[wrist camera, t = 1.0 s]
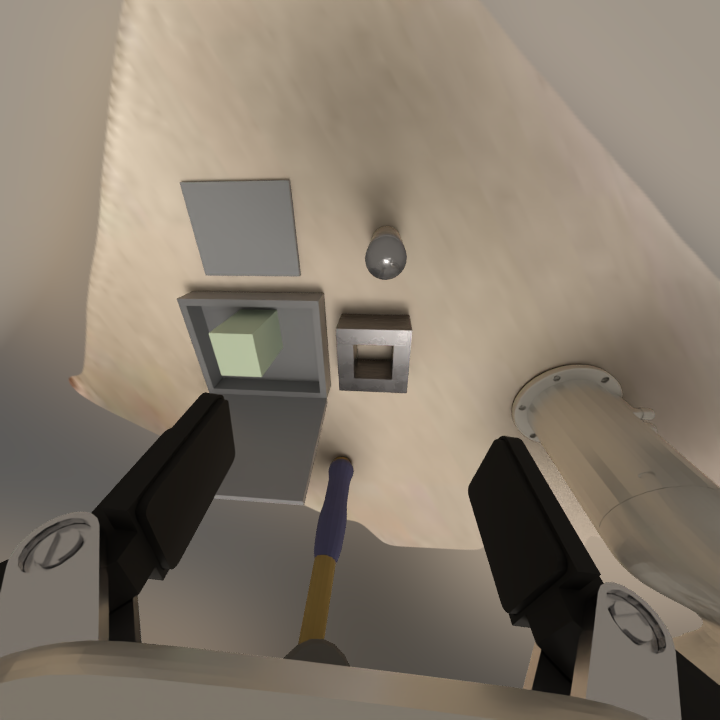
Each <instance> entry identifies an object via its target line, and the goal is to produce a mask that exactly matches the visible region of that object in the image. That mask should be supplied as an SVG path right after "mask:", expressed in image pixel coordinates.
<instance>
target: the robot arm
mask: <svg viewBox="0 0 720 720" xmlns="http://www.w3.org/2000/svg"><path fill="white" fill-rule="evenodd" d="M512 418H513V421H514V423H515V425H516V427H517V428H518V430H519V431H520V432H521V433H522V434H523V435H524V436H525V437H527V438H528V439H530V440H533V441H536V442H539V443H541V444H542V445H543V447H544V448H545V450H546V452H547V453H548V455H549V456H550V458H551V459H552V461H553V463H554V464H555V466H556V467H557V469H558V470H559V472H560V473H561V475H562V477H563V478H564V480H565V481H566V483H567V484H568V486H569V488H570V489H571V491H572V492H573V494H574V495H575V497H576V499H577V500H578V502H579V503H580V505H581V506H582V508H583V510H584V511H585V513H586V514H587V516H588V517H589V519H590V521H591V522H592V524H593V525H594V527H595V528H596V530H597V532H598V533H599V535H600V536H601V538H602V539H603V541H604V542H605V544H606V545H607V547H608V548H609V550H610V551H611V553H612V554H613V556H614V557H615V558H616V559H617V561H618V562H619V563H620V564H621V565H622V566H623V567H624V568H625V569H626V570H627V571H628V572H629V573H630V574H632V575H633V576H634V577H635V578H637V579H638V580H639V581H641V582H642V583H644V584H645V585H647V586H648V587H650V588H652V589H653V590H655V591H657V592H659V593H660V594H662V595H664V596H666V597H668V598H670V599H672V600H674V601H676V602H677V603H680V604H681V605H683V606H685V607H687V608H689V609H691V610H692V611H694V612H696V613H697V614H698V615H699V616H700V617H701V619H702V620H703V624H702V627H700V628H699V629H697V630H694V631H691V632H688V633H685V634H683V635H682V636H678V637H674V638H672V637H671V635H670V633H669V631H668V629H667V627H666V625H665V624H664V623H663V621H662V620H661V619H660V617H659V616H658V614H657V613H656V612H655V611H654V610H653V609H652V608H651V607H650V606H649V605H648V603H647V602H645V601H644V600H643V599H642V598H641V597H639V596H638V595H637V594H636V593H634V592H633V591H631V590H629V589H628V588H626V587H625V586H622V585H619V584H617V583H611V582H610V583H609V582H606V583H603V582H602V580H601V578H600V577H599V576H600V575H601V574H600V572H599V570H598V569H597V567H596V566H595V564H594V562H593V560H592V559H591V557H590V555H589V553H588V552H587V550H586V548H585V547H584V545H583V543H582V541H581V540H580V538H579V536H578V535H577V533H576V531H575V530H574V528H573V526H572V524H571V523H570V521H569V519H568V518H567V516H566V514H565V513H564V511H563V509H562V507H561V506H560V504H559V502H558V501H557V499H556V497H555V495H554V494H553V492H552V490H551V489H550V487H549V485H548V484H547V482H546V480H545V478H544V477H543V475H542V473H541V472H540V470H539V468H538V467H537V465H536V463H535V461H534V460H533V458H532V456H531V455H530V453H529V451H528V450H527V448H526V446H525V444H524V443H523V441H522V440H521V439H519V438H514V437H507V436H501V437H500V438H499V439H496V440H494V442H493V443H492V445H491V447H490V449H489V451H488V452H487V454H486V456H485V458H484V460H483V461H482V463H481V465H480V467H479V468H478V470H477V472H476V474H475V476H474V477H473V479H472V481H471V483H470V484H469V488H468V495H469V498H470V502H471V505H472V508H473V512H474V515H475V518H476V522H477V525H478V528H479V532H480V535H481V538H482V542H483V545H484V548H485V552H486V555H487V558H488V561H489V564H490V568H491V571H492V575H493V578H494V581H495V585H496V588H497V591H498V594H499V598H500V601H501V604H502V607H503V609H504V610H505V611H506V612H507V613H509V616H510V619H511V623H512V625H513V626H521V627H528V628H531V630H532V633H533V636H534V639H535V644H534V648H533V652H532V656H531V659H530V663H529V667H528V671H527V675H526V679H525V683H524V687H523V689H521V688H514V687H507V686H499V685H491V684H483V683H475V682H467V681H459V680H452V679H444V678H435V677H428V676H421V675H413V674H405V673H397V672H389V671H380V670H372V669H363V668H356V667H348V666H340V665H332V664H323V663H315V662H307V661H299V660H291V659H282V658H273V657H264V656H256V655H248V654H240V653H230V652H223V651H214V650H206V649H197V648H188V647H177V646H166V645H156V644H146V643H142V641H141V629H140V616H139V603H138V594H139V593H140V591H141V590H142V588H143V586H144V585H145V583H146V581H147V580H148V579H155V580H164V578H165V576H166V574H167V572H168V571H169V569H174V568H175V567H176V566H177V564H178V563H179V561H180V559H181V558H182V556H183V554H184V552H185V550H186V548H187V547H188V545H189V543H190V541H191V539H192V537H193V536H194V534H195V532H196V530H197V528H198V526H199V524H200V522H201V521H202V519H203V517H204V515H205V513H206V511H207V510H208V508H209V506H210V504H211V502H212V500H213V499H214V497H215V495H216V493H217V491H218V489H219V487H220V486H221V484H222V482H223V480H224V478H225V476H226V475H227V473H228V471H229V469H230V467H231V465H232V463H233V461H234V458H235V445H234V438H233V430H232V423H231V416H230V408H229V402H228V400H224V396H223V395H220V394H213V393H206V392H205V393H203V394H201V395H200V397H199V398H198V399H197V400H196V401H195V402H194V403H193V404H192V406H191V407H190V408H189V409H188V410H187V411H186V412H185V413H184V415H183V416H182V417H181V418H180V419H179V420H178V421H177V423H176V424H175V425H174V426H173V427H172V428H170V429H168V430H166V431H165V432H164V433H163V434H162V435H161V436H160V437H159V438H158V440H157V441H156V442H155V443H154V444H153V445H152V446H151V447H150V448H149V449H148V451H147V452H146V453H145V454H144V455H143V456H142V457H141V458H140V459H139V461H138V462H137V463H136V464H135V465H134V466H133V467H132V468H131V469H130V471H129V472H128V473H127V474H126V475H125V476H124V477H123V478H122V479H121V480H120V482H119V483H118V484H117V485H116V486H115V487H114V488H113V489H112V491H111V492H110V493H109V494H108V495H107V496H106V497H105V498H104V499H103V500H102V502H101V503H100V504H99V505H98V506H97V507H96V508H95V510H94V511H93V512H92V513H88V512H72V513H68V514H65V515H62V516H59V517H57V518H54V519H52V520H50V521H48V522H46V523H44V524H43V525H41V526H40V527H38V528H37V529H35V530H34V531H32V532H31V533H30V534H29V535H28V536H27V537H26V538H24V539H23V540H22V541H21V542H20V543H19V545H18V546H17V547H16V548H15V550H14V551H13V552H12V554H11V556H10V558H9V559H8V560H6V561H4V562H1V563H0V720H720V487H719V486H718V485H717V484H715V483H714V482H713V481H712V480H711V479H710V478H708V477H707V476H706V475H705V474H704V473H703V472H701V471H700V470H699V469H698V468H697V467H696V466H694V465H693V464H692V463H691V462H690V461H689V460H687V459H686V458H685V457H684V456H683V455H682V454H680V453H679V452H678V451H677V450H676V449H675V448H673V447H672V446H671V445H670V444H669V443H668V442H666V441H665V440H664V439H663V438H662V437H661V436H659V435H658V434H657V428H656V427H655V426H654V424H652V423H646V422H643V421H642V420H653V419H654V418H655V412H654V411H653V410H652V409H649V408H633V407H632V406H630V405H629V404H628V403H627V402H626V401H624V400H623V393H622V388H621V386H620V384H619V382H618V381H617V380H616V379H615V378H614V377H613V376H612V375H610V374H609V373H607V372H606V371H605V370H602V369H600V368H598V367H595V366H590V365H567V366H562V367H558V368H554V369H552V370H549V371H547V372H544V373H543V374H541V375H539V376H537V377H535V378H534V379H533V380H531V381H530V382H529V383H527V384H526V385H525V386H524V387H523V389H522V390H521V391H520V392H519V394H518V395H517V397H516V398H515V401H514V403H513V407H512Z"/></svg>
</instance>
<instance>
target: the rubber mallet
mask: <svg viewBox="0 0 720 720" xmlns="http://www.w3.org/2000/svg"><path fill="white" fill-rule="evenodd" d="M353 472H354V471H353V466H352V464H351V463H350V461H349V460H348V459H347V458H344V457H338V458H336V459H335V460H334V461H333V462H332V463H331V465H330V467H329V482H328V487H327V492H326V496H325V501H324V504H323V507H322V510H321V513H320V516H319V520H318V525H317V531H316V538H315V547H314V556H315V561H314V565H313V571H312V576H311V581H310V586H309V591H308V597H307V601H306V607H305V612H304V617H303V622H302V627H301V632H300V638H299V643H298V645H297V646H296V647H295V648H294V649H293V650H292V651H290V652H289V654H287V655H286V656H285V657H284V658H283V659H291V660H299V661H307V662H315V663H323V664H332V665H340V666H348V667H350V665H349V663H348V661H347V659H346V657H345V655H344V654H343V653H342V652H341V651H340V650H339V649H338V648H337V646H335V644H333V643H331V642H329V641H326V640H324V636H325V629H326V623H327V616H328V610H329V603H330V597H331V589H332V584H333V577H334V571H335V564H336V562H337V561H338V558H339V556H340V552H341V549H342V544H343V539H344V534H345V528H346V520H347V499H348V492H349V484H350V481H351V478H352V476H353Z"/></svg>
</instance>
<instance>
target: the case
mask: <svg viewBox="0 0 720 720" xmlns="http://www.w3.org/2000/svg"><path fill="white" fill-rule="evenodd" d="M177 301H178V304H179V306H180V309H181V312H182V315H183V318H184V321H185V324H186V327H187V329H188V332H189V335H190V338H191V341H192V344H193V347H194V350H195V353H196V355H197V358H198V361H199V364H200V367H201V370H202V373H203V376H204V379H205V381H206V384H207V387H208V390H209V393H217V394H239V395H261V396H283V397H305V398H327V396H328V393H329V390H330V387H331V380H330V366H329V353H328V340H327V327H326V314H325V301H324V293H286V292H216V291H192V292H190V293H188V294H186V295H184V296H182V297H179V298H177ZM241 309H248V310H277V313H278V319H279V325H280V331H281V337H282V343H283V348H282V350H281V351H280V352H279V354H278V355H277V357H276V358H275V359H274V361H273V362H272V364H271V365H270V366H269V368H268V369H267V371H266V372H265V373H264V375H263V376H262V377H247V376H222V375H221V372H220V369H219V366H218V362H217V359H216V356H215V353H214V349H213V346H212V343H211V340H210V336H209V332H211V331H212V330H213V329H215V328H216V327H217V326H219V325H220V324H222V323H223V322H224V321H226V320H227V319H228V318H230V317H231V316H232V315H234V314H235V313H237V312H238V311H239V310H241Z"/></svg>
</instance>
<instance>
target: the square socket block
mask: <svg viewBox="0 0 720 720" xmlns="http://www.w3.org/2000/svg"><path fill="white" fill-rule="evenodd" d="M411 339H412V327H411V321H410V316H409V315H372V314H342V315H341V317H340V320H339V322H338V325H337V327H336V340H337V357H338V374H339V390H344V391H368V392H391V393H407V383H408V372H409V361H410V350H411ZM357 345H387V346H392V360H363V359H358V353H357Z"/></svg>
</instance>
